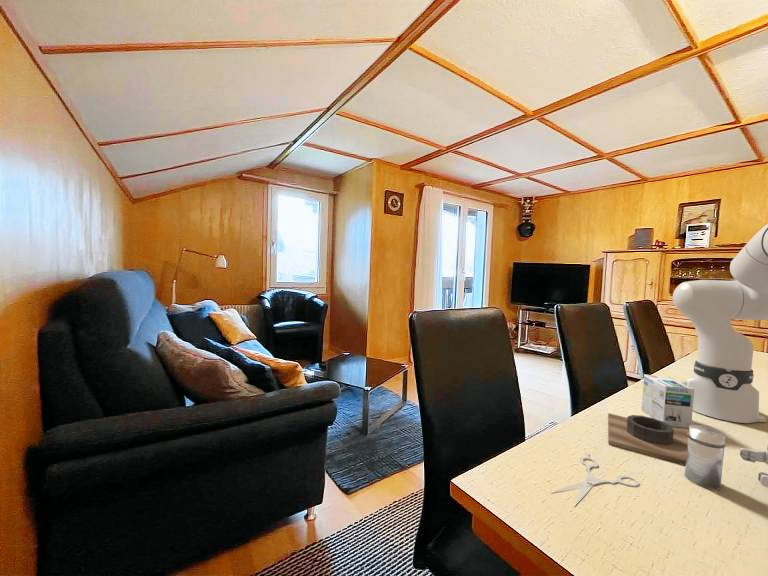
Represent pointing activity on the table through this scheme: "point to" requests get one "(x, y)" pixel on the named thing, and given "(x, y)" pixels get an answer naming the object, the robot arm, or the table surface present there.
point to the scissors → (593, 480)
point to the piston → (705, 456)
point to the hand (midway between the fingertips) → (749, 465)
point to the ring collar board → (648, 437)
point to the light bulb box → (668, 400)
